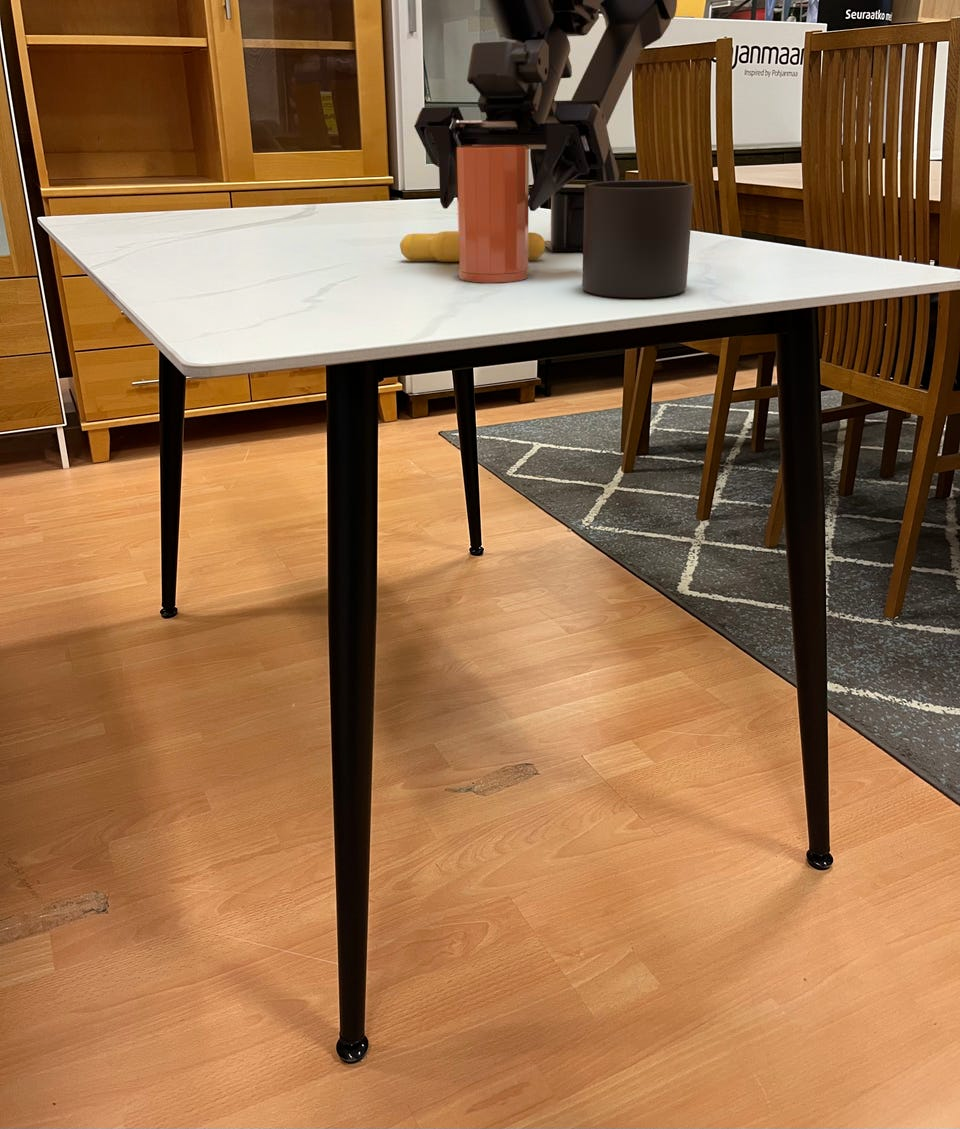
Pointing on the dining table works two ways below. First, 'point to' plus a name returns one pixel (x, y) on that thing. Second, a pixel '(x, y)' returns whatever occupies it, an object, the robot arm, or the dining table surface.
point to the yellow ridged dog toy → (452, 246)
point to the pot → (492, 212)
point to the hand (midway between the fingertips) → (486, 206)
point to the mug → (636, 238)
